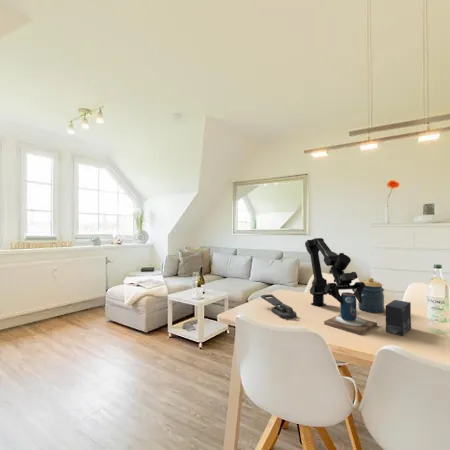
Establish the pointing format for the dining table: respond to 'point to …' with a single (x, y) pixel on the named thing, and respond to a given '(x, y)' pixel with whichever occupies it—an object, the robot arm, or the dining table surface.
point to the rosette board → (351, 324)
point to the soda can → (348, 307)
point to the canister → (372, 297)
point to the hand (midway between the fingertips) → (351, 303)
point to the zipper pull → (281, 311)
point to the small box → (398, 317)
